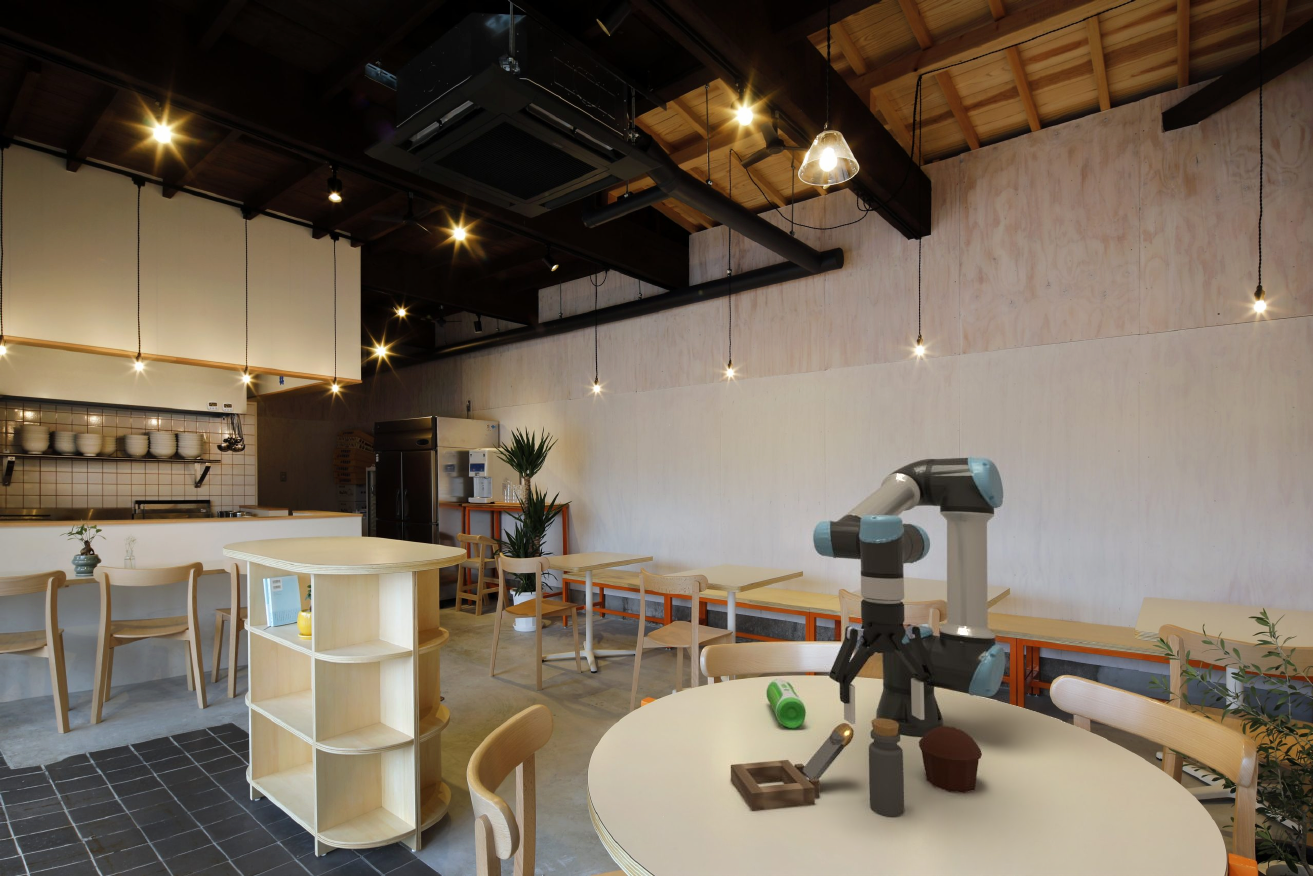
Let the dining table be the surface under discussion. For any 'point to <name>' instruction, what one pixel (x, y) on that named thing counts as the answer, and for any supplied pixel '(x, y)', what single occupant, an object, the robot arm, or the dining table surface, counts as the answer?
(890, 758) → the bottle
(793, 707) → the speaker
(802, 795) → the socket block
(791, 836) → the dining table surface
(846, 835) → the dining table surface
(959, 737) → the muffin
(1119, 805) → the dining table surface
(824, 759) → the bar
